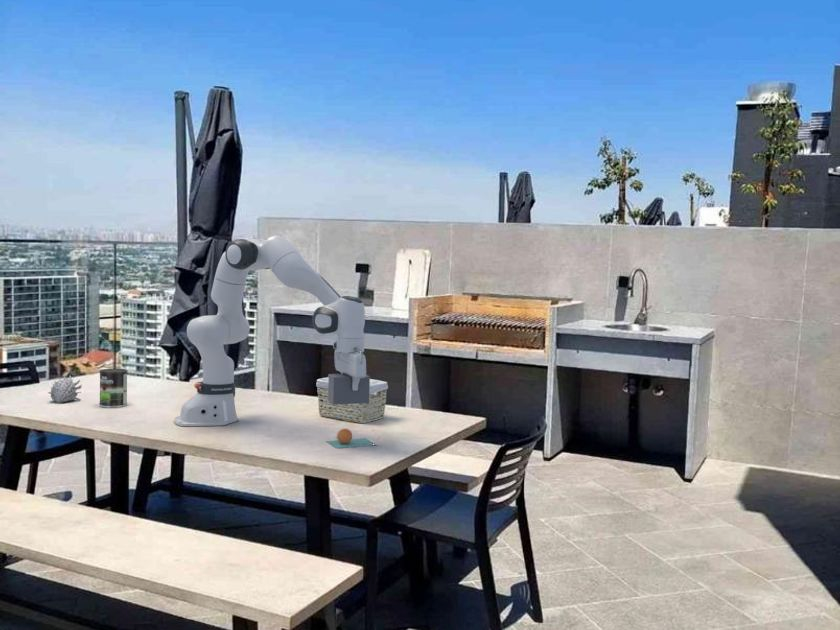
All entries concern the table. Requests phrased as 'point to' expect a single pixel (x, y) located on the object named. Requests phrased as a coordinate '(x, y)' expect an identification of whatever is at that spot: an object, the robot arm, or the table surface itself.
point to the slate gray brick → (347, 389)
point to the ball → (344, 436)
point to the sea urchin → (64, 390)
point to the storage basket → (354, 411)
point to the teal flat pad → (351, 443)
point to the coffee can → (113, 388)
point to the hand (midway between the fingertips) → (349, 388)
